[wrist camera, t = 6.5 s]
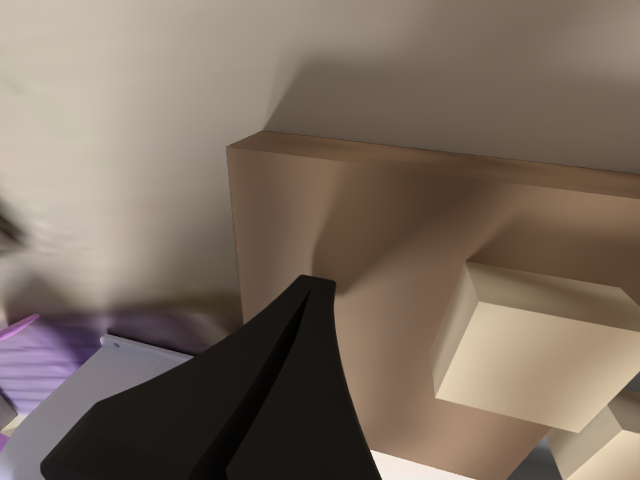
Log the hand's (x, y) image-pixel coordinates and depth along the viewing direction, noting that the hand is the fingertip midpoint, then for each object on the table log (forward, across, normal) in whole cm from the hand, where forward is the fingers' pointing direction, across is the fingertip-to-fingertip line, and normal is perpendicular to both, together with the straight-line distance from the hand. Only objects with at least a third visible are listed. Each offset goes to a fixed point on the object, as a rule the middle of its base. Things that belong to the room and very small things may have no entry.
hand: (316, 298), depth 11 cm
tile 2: (+1, -7, 0) cm, 7 cm away
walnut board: (+4, -4, +3) cm, 6 cm away
